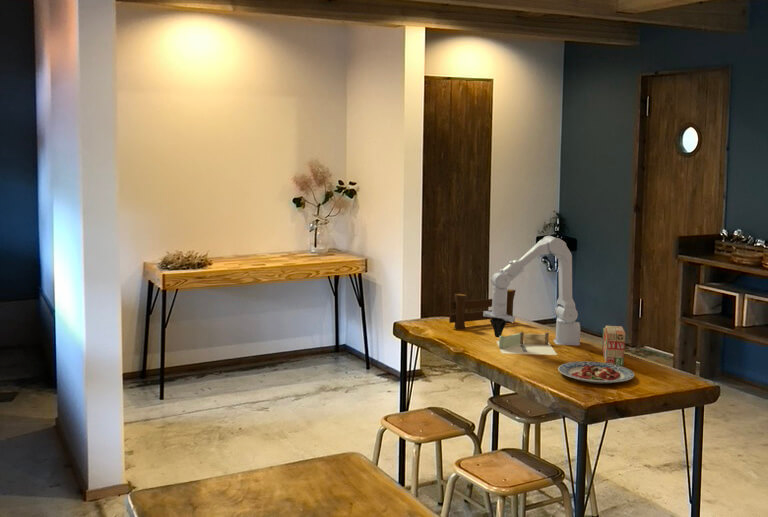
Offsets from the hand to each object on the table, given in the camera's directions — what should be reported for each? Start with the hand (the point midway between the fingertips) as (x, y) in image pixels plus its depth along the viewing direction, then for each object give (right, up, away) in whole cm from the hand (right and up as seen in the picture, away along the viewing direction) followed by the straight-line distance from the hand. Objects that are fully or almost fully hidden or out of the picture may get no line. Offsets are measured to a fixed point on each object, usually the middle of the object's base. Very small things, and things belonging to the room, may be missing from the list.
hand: (498, 336), depth 341 cm
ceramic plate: (+28, -10, -42) cm, 52 cm away
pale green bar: (+4, -3, -3) cm, 6 cm away
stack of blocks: (+41, -7, -16) cm, 45 cm away
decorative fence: (-2, +1, +36) cm, 36 cm away
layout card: (+10, -4, -4) cm, 12 cm away
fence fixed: (+14, -3, +2) cm, 15 cm away
